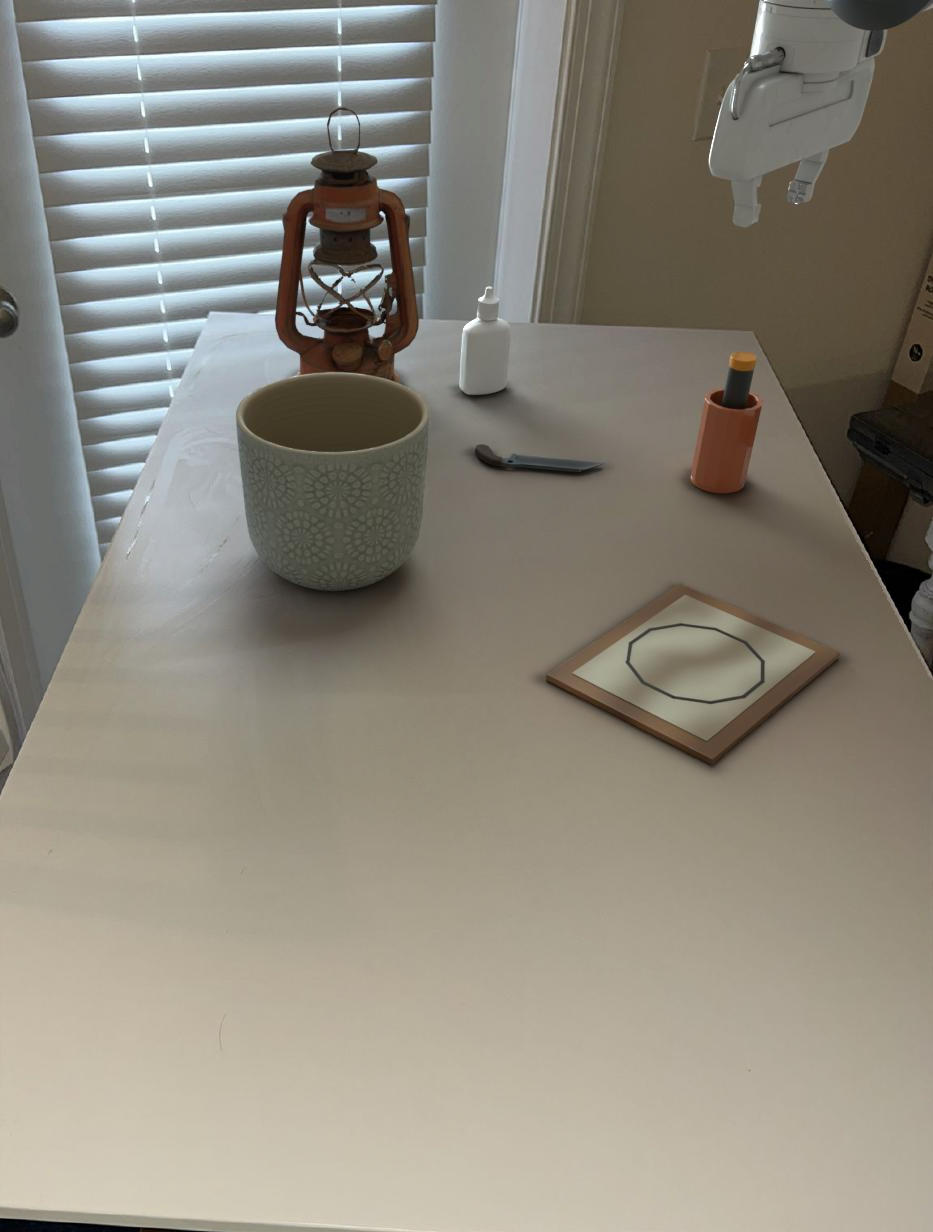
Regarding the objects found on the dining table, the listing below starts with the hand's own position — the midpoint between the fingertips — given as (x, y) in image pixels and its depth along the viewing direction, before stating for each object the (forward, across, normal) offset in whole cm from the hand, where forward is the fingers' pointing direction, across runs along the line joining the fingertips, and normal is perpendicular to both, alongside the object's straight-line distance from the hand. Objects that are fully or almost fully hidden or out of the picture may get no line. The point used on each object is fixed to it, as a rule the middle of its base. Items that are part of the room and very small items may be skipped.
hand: (771, 213), depth 114 cm
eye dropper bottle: (+27, +1, +33) cm, 43 cm away
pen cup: (+27, 0, 0) cm, 27 cm away
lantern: (+27, -9, +46) cm, 54 cm away
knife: (+27, -10, +16) cm, 33 cm away
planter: (+27, -40, +17) cm, 51 cm away
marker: (+26, 0, 0) cm, 26 cm away
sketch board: (+27, -31, -17) cm, 44 cm away
